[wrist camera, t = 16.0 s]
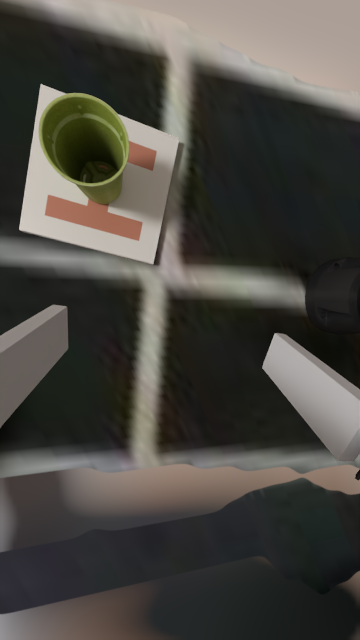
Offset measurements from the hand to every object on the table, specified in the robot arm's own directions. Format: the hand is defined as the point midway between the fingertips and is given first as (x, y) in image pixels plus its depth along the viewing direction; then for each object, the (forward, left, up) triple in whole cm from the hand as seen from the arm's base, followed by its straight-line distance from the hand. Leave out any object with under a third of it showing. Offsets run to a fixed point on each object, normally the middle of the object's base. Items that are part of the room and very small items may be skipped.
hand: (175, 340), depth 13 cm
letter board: (+12, -18, -23) cm, 32 cm away
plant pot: (+12, -18, -22) cm, 31 cm away
